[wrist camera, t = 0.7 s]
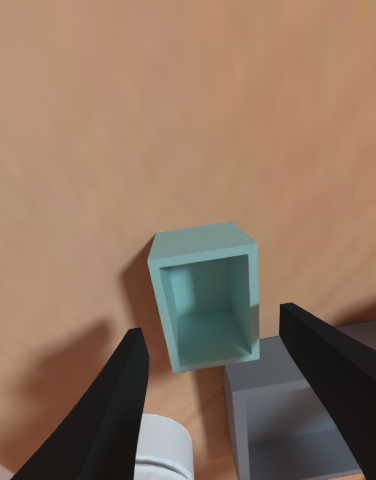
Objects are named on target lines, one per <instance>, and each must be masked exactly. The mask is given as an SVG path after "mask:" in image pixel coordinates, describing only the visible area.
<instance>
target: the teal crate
mask: <svg viewBox="0 0 376 480" xmlns="http://www.w3.org/2000/svg"><path fill="white" fill-rule="evenodd" d="M147 263H148V267H149V271H150V275H151V280H152V284H153V288H154V293H155V297H156V301H157V306H158V310H159V314H160V318H161V323H162V327H163V331H164V336H165V340H166V344H167V349H168V353H169V357H170V361H171V366H172V370H173V374H175V373H180V372H186V371H192V370H198V369H204V368H210V367H216V366H222V365H228V364H234V363H239V362H245V361H251V360H257V359H260V354H259V291H258V243H257V242H255V241H254V240H253V239H252V238H250V237H249V236H248V235H246V234H245V233H244V232H243V231H241V230H240V229H239V228H238V227H236V226H235V225H234V224H233V223H231V222H225V223H218V224H212V225H205V226H199V227H192V228H186V229H179V230H173V231H166V232H160V233H156V235H155V238H154V241H153V244H152V247H151V250H150V253H149V256H148V259H147Z"/></svg>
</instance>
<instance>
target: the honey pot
mask: <svg viewBox="0 0 376 480" xmlns="http://www.w3.org/2000/svg"><path fill="white" fill-rule="evenodd" d="M134 480H194V468H193V453H192V439H191V437H190V435H189V433H188V431H187V430H186V429H185V428H184V427H183V426H182V425H181V424H179V423H177V422H175V421H174V420H172V419H170V418H166V417H162V416H159V415H153V414H142V420H141V426H140V432H139V438H138V445H137V453H136V461H135V472H134Z"/></svg>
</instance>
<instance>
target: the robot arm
mask: <svg viewBox="0 0 376 480" xmlns="http://www.w3.org/2000/svg"><path fill="white" fill-rule="evenodd" d="M279 336H280V338H281V340H282V342H283V344H284V345H285V347H286V349H287V351H288V353H289V355H290V356H291V358H292V360H293V361H294V363H295V364H296V366H297V367H298V369H299V370H300V372H301V373H302V375H303V376H304V378H305V379H306V380H307V382H308V383H309V385H310V386H311V388H312V389H313V391H314V392H315V394H316V395H317V397H318V398H319V400H320V401H321V403H322V404H323V406H324V407H325V409H326V410H327V412H328V413H329V415H330V417H331V418H332V420H333V421H334V423H335V425H336V427H337V428H338V430H339V432H340V433H341V435H342V437H343V439H344V440H345V442H346V444H347V446H348V447H349V449H350V451H351V453H352V454H353V456H354V458H355V460H356V462H357V463H358V465H359V467H360V469H361V471H362V472H363V474H364V476H365V478H366V480H376V350H374V349H372V348H371V347H369V346H367V345H365V344H363V343H361V342H359V341H357V340H356V339H354V338H352V337H350V336H348V335H346V334H345V333H343V332H341V331H339V330H338V329H336V328H334V327H332V326H331V325H329V324H327V323H326V322H324V321H322V320H321V319H319V318H317V317H316V316H314V315H312V314H311V313H309V312H307V311H306V310H304V309H302V308H301V307H299V306H297V305H295V304H294V303H292V302H291V303H285V304H280V323H279ZM148 372H149V354H148V351H147V347H146V344H145V340H144V336H143V333H142V329H141V328H135V329H129V330H128V331H127V333H126V334H125V336H124V337H123V339H122V341H121V342H120V344H119V345H118V347H117V348H116V350H115V351H114V353H113V354H112V356H111V357H110V359H109V360H108V362H107V363H106V365H105V366H104V368H103V369H102V370H101V372H100V373H99V375H98V376H97V378H96V379H95V380H94V382H93V383H92V384H91V386H90V387H89V388H88V390H87V391H86V392H85V394H84V395H83V396H82V398H81V399H80V400H79V402H78V403H77V404H76V405H75V407H74V408H73V409H72V410H71V412H70V413H69V414H68V415H67V417H66V418H65V419H64V420H63V421H62V423H61V424H60V425H59V426H58V427H57V429H56V430H55V431H54V432H53V433H52V434H51V435H50V437H49V438H48V439H47V440H46V441H45V442H44V443H43V445H42V446H41V447H40V448H39V449H38V450H37V451H36V452H35V453H34V454H33V456H32V457H31V458H30V459H29V460H28V461H27V462H26V463H25V464H24V465H23V467H22V468H21V469H20V470H19V471H18V472H17V473H16V474H15V475H14V476H13V477H12V479H10V480H134V472H135V461H136V453H137V445H138V438H139V432H140V426H141V420H142V414H143V408H144V402H145V396H146V389H147V383H148Z"/></svg>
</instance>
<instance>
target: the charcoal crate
mask: <svg viewBox="0 0 376 480" xmlns="http://www.w3.org/2000/svg"><path fill="white" fill-rule="evenodd" d="M334 328H336V329H338V330H339V331H341V332H343V333H345V334H346V335H348V336H350V337H352V338H354V339H356V340H357V341H359V342H361V343H363V344H365V345H367V346H369V347H371V348H372V349H374V350H376V320H374V321H368V322H362V323H356V324H349V325H343V326H337V327H334ZM259 354H260V359H257V360H251V361H245V362H239V363H234V364H228V365H222V372H223V381H224V390H225V399H226V408H227V418H228V427H229V436H230V444H231V449H232V454H233V458H234V463H235V468H236V473H237V477H238V480H327V479H333V478H338V477H344V476H349V475H355V474H360V473H363V472H362V471H361V469H360V467H359V465H358V463H357V462H356V460H355V458H354V456H353V454H352V453H351V451H350V449H349V447H348V446H347V444H346V442H345V440H344V439H343V437H342V435H341V433H340V432H339V430H338V428H337V427H336V425H335V423H334V421H333V420H332V418H331V417H330V415H329V413H328V412H327V410H326V409H325V407H324V406H323V404H322V403H321V401H320V400H319V398H318V397H317V395H316V394H315V392H314V391H313V389H312V388H311V386H310V385H309V383H308V382H307V380H306V379H305V378H304V376H303V375H302V373H301V372H300V370H299V369H298V367H297V366H296V364H295V363H294V361H293V360H292V358H291V356H290V355H289V353H288V351H287V349H286V347H285V345H284V344H283V342H282V340H281V338H280V336H277V337H271V338H265V339H259Z"/></svg>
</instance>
